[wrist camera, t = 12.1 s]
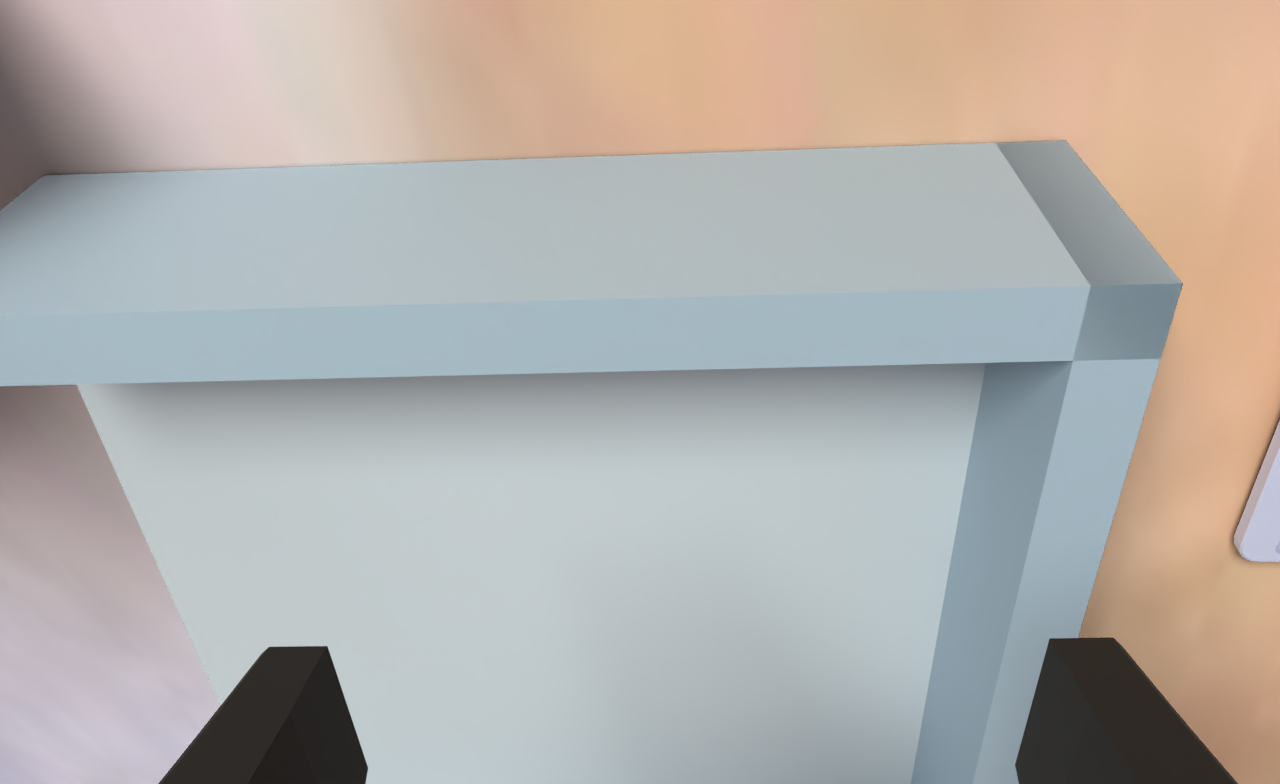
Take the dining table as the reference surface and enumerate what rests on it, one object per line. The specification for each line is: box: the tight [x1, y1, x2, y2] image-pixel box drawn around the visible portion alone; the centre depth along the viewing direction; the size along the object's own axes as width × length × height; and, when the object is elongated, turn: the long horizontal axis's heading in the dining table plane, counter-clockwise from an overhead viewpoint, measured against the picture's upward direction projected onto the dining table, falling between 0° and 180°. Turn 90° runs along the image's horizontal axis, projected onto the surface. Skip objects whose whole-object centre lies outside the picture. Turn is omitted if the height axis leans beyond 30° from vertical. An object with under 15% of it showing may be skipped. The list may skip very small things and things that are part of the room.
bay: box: [0, 140, 1183, 784], centre depth 22 cm, size 18×19×5 cm
